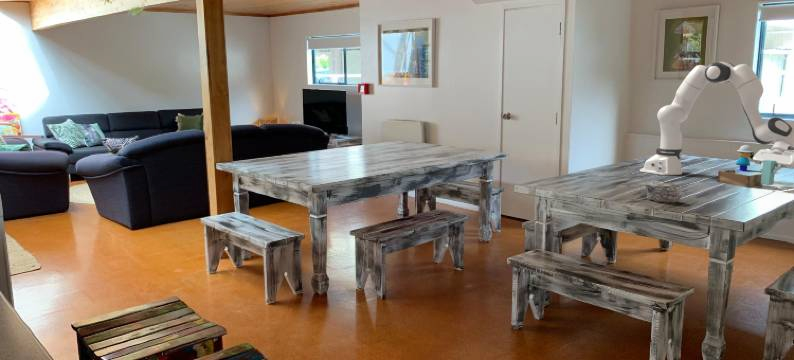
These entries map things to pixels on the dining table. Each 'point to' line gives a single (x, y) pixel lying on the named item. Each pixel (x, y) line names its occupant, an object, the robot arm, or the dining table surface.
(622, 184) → the dining table surface
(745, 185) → the crate
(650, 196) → the rock
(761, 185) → the coaster
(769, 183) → the block
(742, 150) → the toy
